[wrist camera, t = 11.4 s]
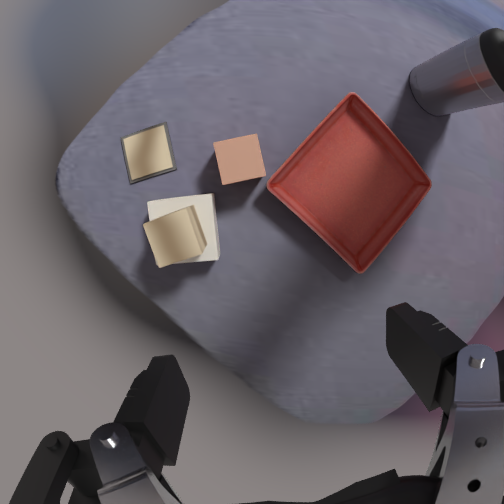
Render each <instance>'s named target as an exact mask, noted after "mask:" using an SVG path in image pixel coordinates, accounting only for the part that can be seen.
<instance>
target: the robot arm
mask: <svg viewBox="0 0 504 504" xmlns="http://www.w3.org/2000/svg"><path fill="white" fill-rule="evenodd" d="M410 86H411V90H412V93H413V95H414V97H415V99H416V100H417V102H418V103H419V104H420V106H421V107H422V108H423V109H424V110H426V111H427V112H428V113H430V114H432V115H435V116H443V115H447V114H451V113H455V112H460V111H464V110H468V109H473V108H477V107H482V106H487V105H492V104H497V103H502V102H504V31H503V30H501V29H499V28H492V29H489V30H487V31H485V32H483V33H480V34H478V35H476V36H474V37H472V38H470V39H468V40H466V41H464V42H462V43H460V44H458V45H456V46H454V47H452V48H450V49H448V50H446V51H444V52H442V53H440V54H439V55H437V56H435V57H433V58H431V59H429V60H427V61H425V62H424V63H422V64H420V65H418V66H417V67H415V68H414V69H413V70H412V72H411V74H410ZM386 347H387V351H388V354H389V356H390V358H391V359H392V360H393V362H394V363H395V364H396V366H397V367H398V368H399V370H400V371H401V373H402V374H403V375H404V377H405V378H406V380H407V381H408V382H409V384H410V385H411V386H412V388H413V389H414V391H415V392H416V393H417V395H418V396H419V398H420V399H421V400H422V402H423V403H424V405H425V406H426V408H427V409H428V411H429V412H430V411H432V410H434V409H436V408H438V407H441V408H442V410H443V412H442V416H441V420H440V426H439V430H438V435H437V440H436V444H435V448H434V452H433V455H432V459H431V462H430V465H429V467H428V470H427V472H426V475H425V476H423V475H412V476H402V477H398V475H397V473H396V470H395V469H393V470H390V471H387V472H385V473H382V474H380V475H377V476H374V477H371V478H368V479H365V480H362V481H359V482H356V483H354V484H352V485H350V486H348V487H346V488H344V489H342V490H340V491H338V492H336V493H334V494H332V495H330V496H328V497H326V498H324V499H321V500H319V501H316V502H309V503H307V502H304V503H303V502H276V501H264V502H255V503H241V504H504V496H503V492H504V350H502V351H498V352H494V350H492V349H491V348H490V347H488V346H485V345H481V344H472V345H467V344H466V343H465V342H463V341H462V340H461V339H460V338H459V337H458V336H456V335H455V334H454V333H453V332H452V331H451V330H449V329H448V328H446V326H445V325H443V324H442V323H440V322H439V320H437V319H436V318H435V317H434V316H433V315H431V314H429V313H426V312H423V311H416V310H415V309H414V308H413V307H412V306H410V305H409V304H408V303H406V302H405V303H402V304H398V305H395V306H392V307H389V308H388V309H387V311H386ZM189 401H190V392H189V388H188V385H187V382H186V380H185V378H184V376H183V374H182V371H181V369H180V367H179V365H178V362H177V360H176V358H175V357H174V356H173V355H164V356H155V357H153V358H152V360H151V362H150V364H149V366H148V368H147V370H143V371H142V372H141V373H140V374H139V375H138V376H137V377H136V378H135V379H134V381H133V383H132V385H131V387H130V390H129V391H128V393H127V397H125V399H124V401H123V403H122V405H121V407H120V409H119V412H118V414H117V416H116V418H115V420H114V422H112V423H107V424H104V425H102V426H100V427H99V428H97V429H96V430H95V431H94V432H93V433H92V435H91V437H90V439H88V440H82V441H75V442H73V441H72V440H71V438H70V437H69V436H68V435H67V434H66V433H65V432H62V431H55V432H52V433H50V434H48V435H47V436H45V437H44V438H43V439H42V441H41V442H40V444H39V446H38V447H37V449H36V451H35V453H34V455H33V457H32V458H31V460H30V462H29V464H28V466H27V468H26V470H25V472H24V474H23V476H22V478H21V480H20V482H19V484H18V486H17V488H16V490H15V492H14V494H13V496H12V498H11V500H10V503H9V504H60V498H61V496H62V493H63V490H64V488H65V485H66V483H67V481H68V482H69V483H70V484H71V485H72V486H73V487H74V489H73V492H72V495H71V497H70V500H69V503H68V504H184V503H183V502H182V500H181V499H180V497H179V496H178V495H177V493H176V492H175V490H174V489H173V488H172V486H171V485H170V483H169V482H168V480H167V479H166V477H165V476H164V475H163V473H162V468H163V465H167V466H168V465H169V466H175V465H176V460H177V455H178V451H179V445H180V441H181V437H182V432H183V428H184V423H185V418H186V414H187V410H188V406H189Z"/></svg>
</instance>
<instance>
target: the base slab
mask: <svg viewBox="0 0 504 504" xmlns="http://www.w3.org/2000/svg"><path fill="white" fill-rule="evenodd" d="M147 204H148V212H149V221H151V220H154V219H156V218H158V217H161V216H164V215H166V214H169V213H172V212H174V211H177V210H180V209H183V208H185V207H188V206H191V205H194V207H195V210H196V213H197V215H198V218H199V221H200V224H201V227H202V230H203V233H204V236H205V238H206V241H207V246H206V247H205V249H204V251H203V253H202V254H201V255H198V256H195V257H191V258H188V259H185V260H182V261H179V262H176V263H188V262H199V261H210V260H218V259H219V255H220V246H219V237H218V227H217V217H216V207H215V197H214V193H210V194H201V195H192V196H184V197H176V198H168V199H160V200H154V201H149V202H147ZM155 261H156V258H155ZM176 263H173V264H176ZM156 265H158V263H157V261H156Z"/></svg>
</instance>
